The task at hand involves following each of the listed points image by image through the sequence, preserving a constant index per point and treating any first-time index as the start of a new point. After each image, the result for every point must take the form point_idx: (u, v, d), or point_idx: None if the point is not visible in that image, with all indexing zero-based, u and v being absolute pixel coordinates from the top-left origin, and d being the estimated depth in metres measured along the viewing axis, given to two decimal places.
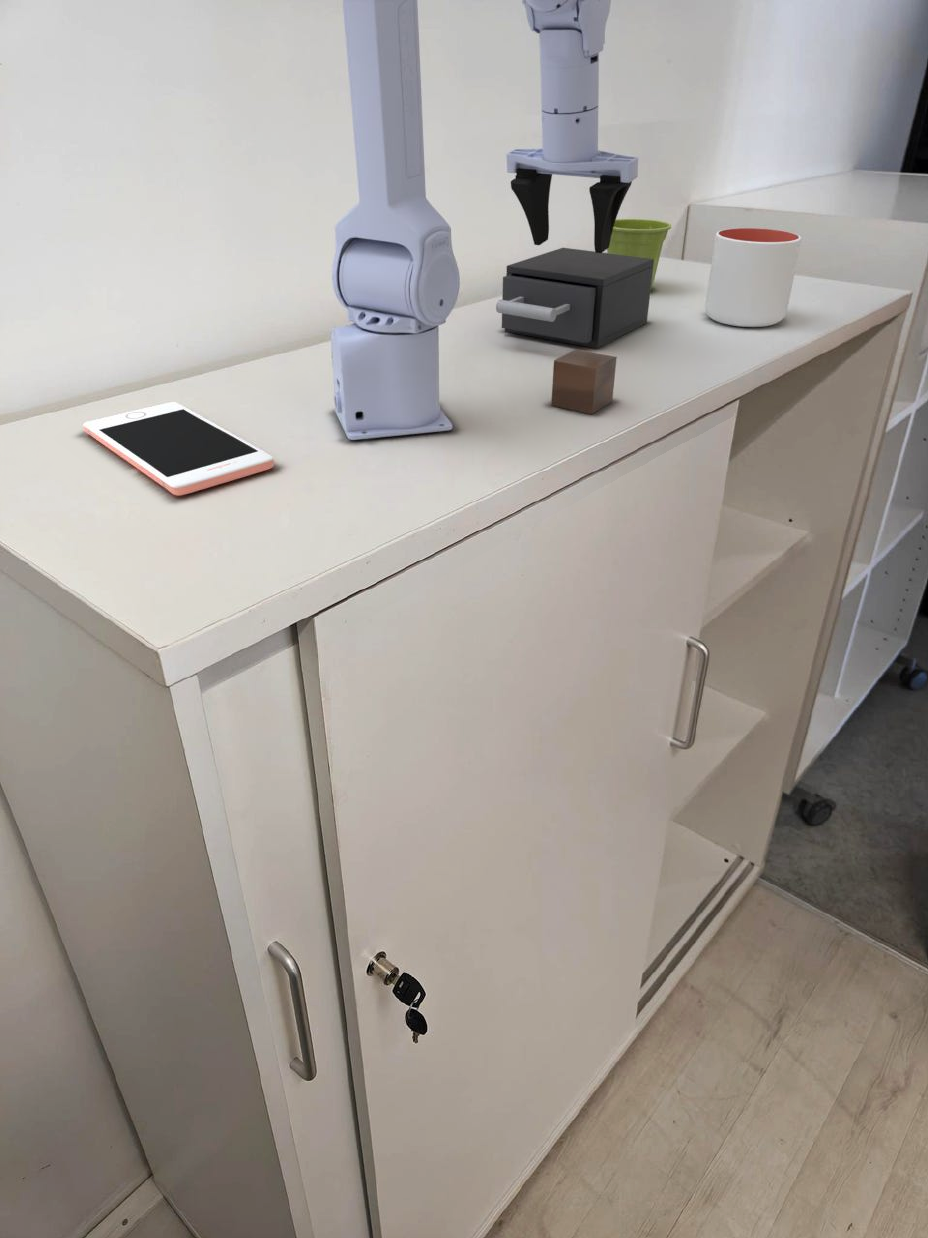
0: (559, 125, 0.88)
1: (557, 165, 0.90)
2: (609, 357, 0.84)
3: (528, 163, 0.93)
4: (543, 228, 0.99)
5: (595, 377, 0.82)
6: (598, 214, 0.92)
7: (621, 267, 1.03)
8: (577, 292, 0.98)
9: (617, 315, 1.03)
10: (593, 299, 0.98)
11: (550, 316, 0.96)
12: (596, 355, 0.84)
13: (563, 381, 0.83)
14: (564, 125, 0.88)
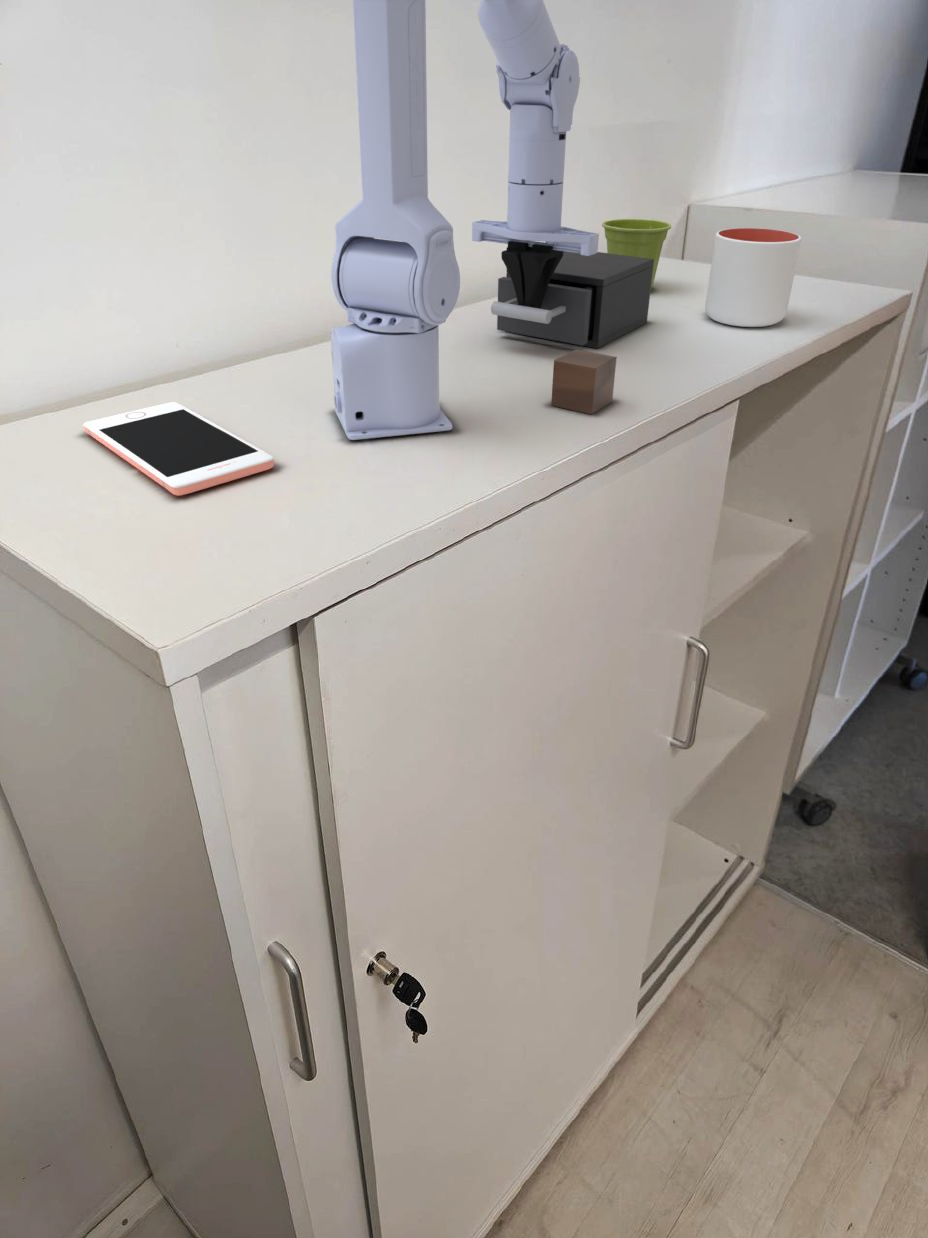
0: (524, 195, 0.90)
1: (520, 234, 0.92)
2: (609, 357, 0.84)
3: (492, 232, 0.95)
4: None
5: (595, 377, 0.82)
6: (529, 280, 0.95)
7: (621, 267, 1.03)
8: (573, 294, 0.97)
9: (617, 315, 1.03)
10: (589, 301, 0.97)
11: (546, 318, 0.95)
12: (596, 355, 0.84)
13: (563, 381, 0.83)
14: (529, 195, 0.90)
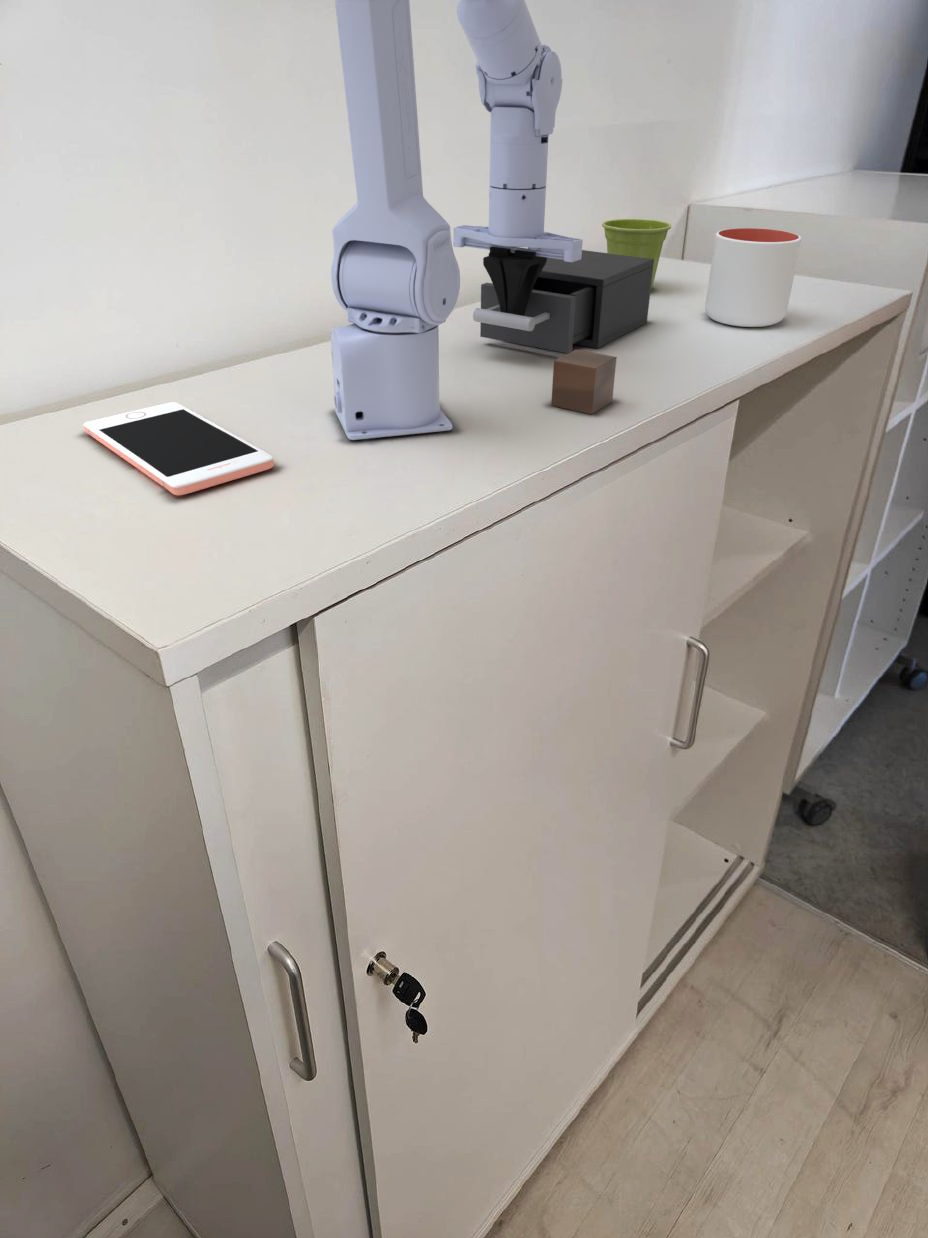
0: (505, 200, 0.88)
1: (501, 239, 0.89)
2: (609, 357, 0.84)
3: (474, 238, 0.92)
4: None
5: (595, 377, 0.82)
6: (511, 287, 0.93)
7: (621, 267, 1.03)
8: (557, 301, 0.95)
9: (617, 315, 1.03)
10: (573, 308, 0.95)
11: (528, 325, 0.93)
12: (596, 355, 0.84)
13: (563, 381, 0.83)
14: (510, 200, 0.87)
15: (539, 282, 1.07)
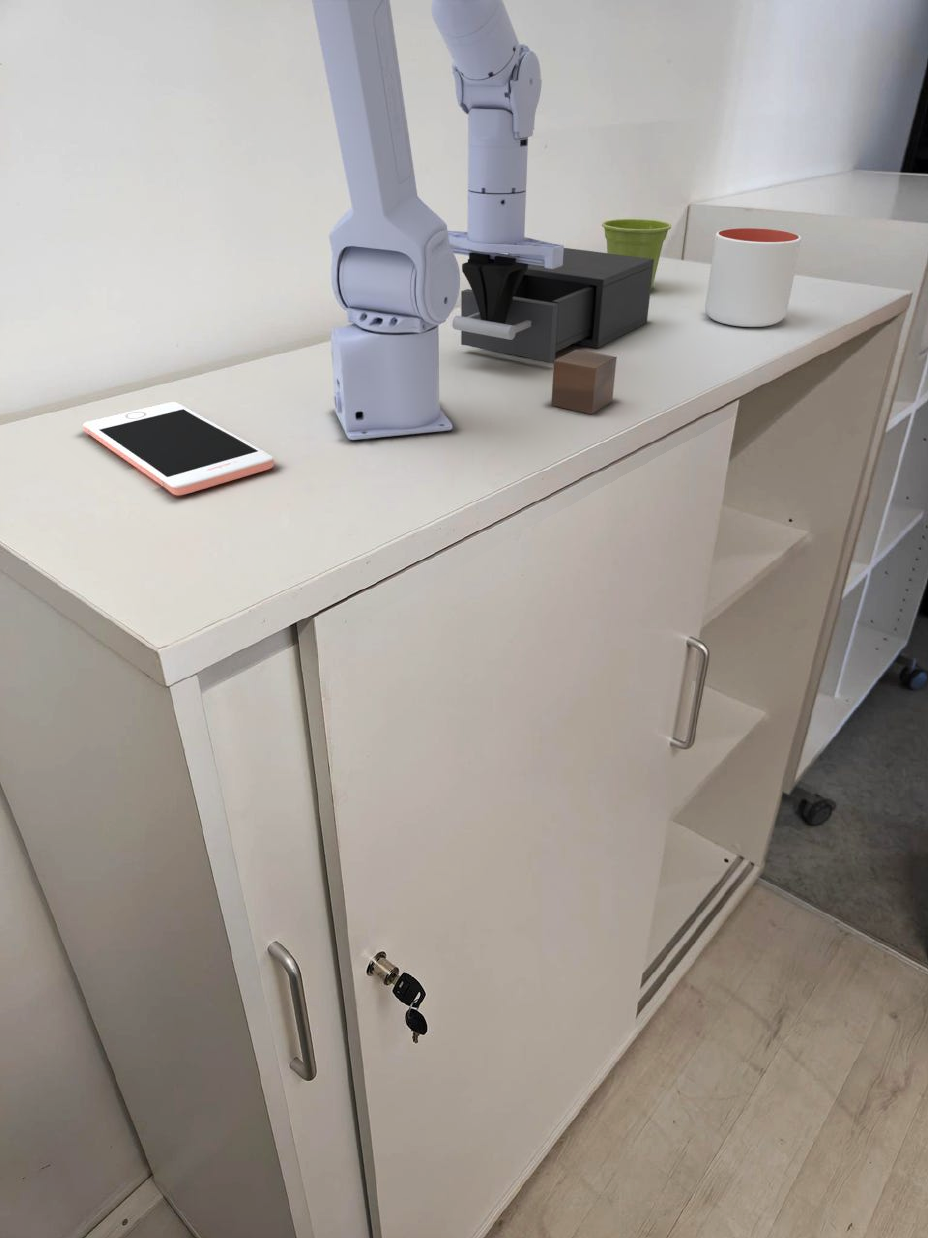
0: (484, 205, 0.85)
1: (480, 245, 0.87)
2: (609, 357, 0.84)
3: (452, 243, 0.90)
4: None
5: (595, 377, 0.82)
6: (491, 294, 0.90)
7: (621, 267, 1.03)
8: (538, 308, 0.92)
9: (617, 315, 1.03)
10: (555, 315, 0.92)
11: (509, 334, 0.90)
12: (596, 355, 0.84)
13: (563, 381, 0.83)
14: (489, 205, 0.85)
15: (522, 288, 1.04)
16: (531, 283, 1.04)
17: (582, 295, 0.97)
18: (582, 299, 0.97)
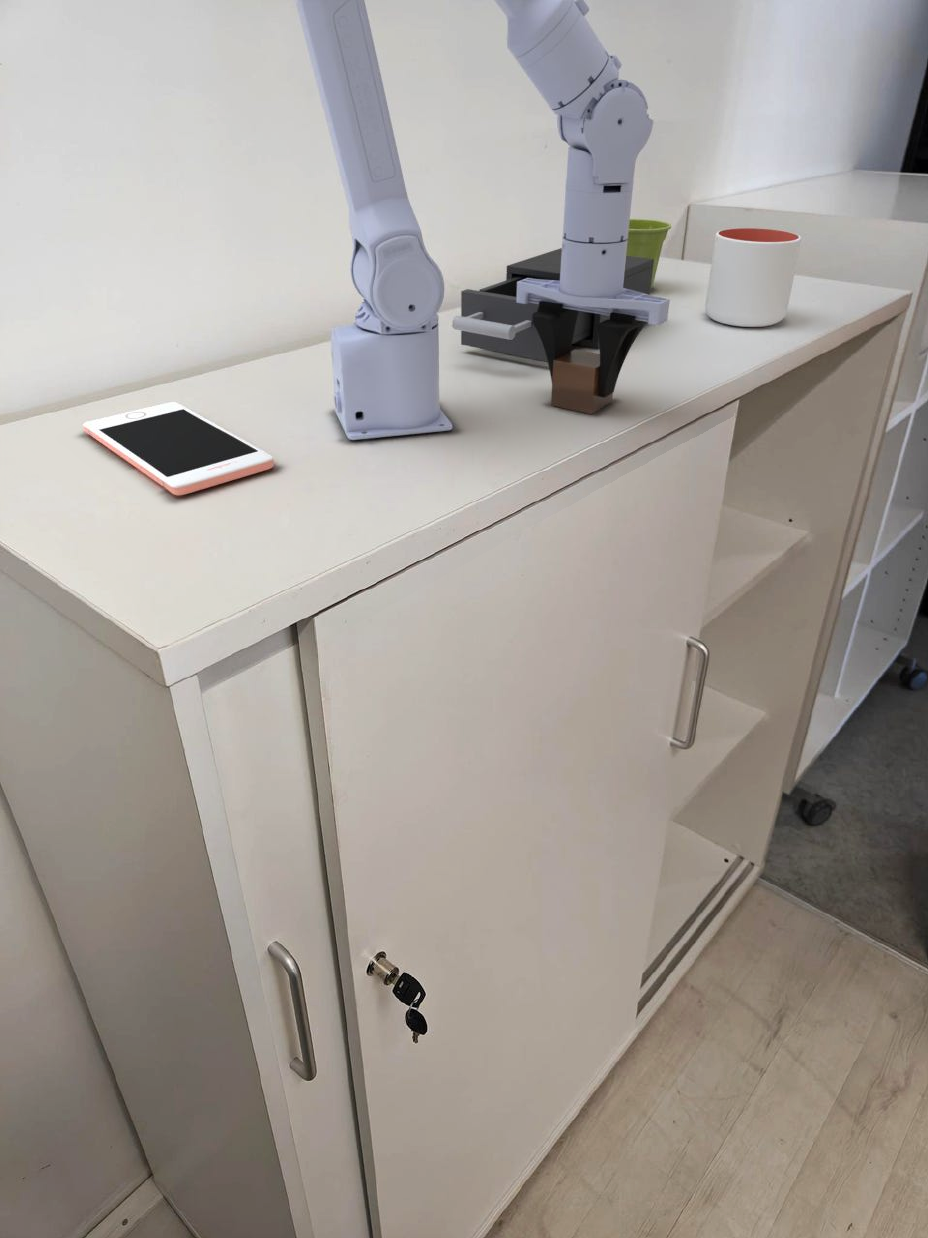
0: (582, 255, 0.76)
1: (576, 299, 0.78)
2: None
3: (542, 295, 0.81)
4: None
5: (595, 377, 0.82)
6: (605, 354, 0.80)
7: None
8: None
9: None
10: None
11: (509, 334, 0.90)
12: (596, 355, 0.84)
13: (562, 381, 0.84)
14: (589, 255, 0.76)
15: None
16: None
17: None
18: None
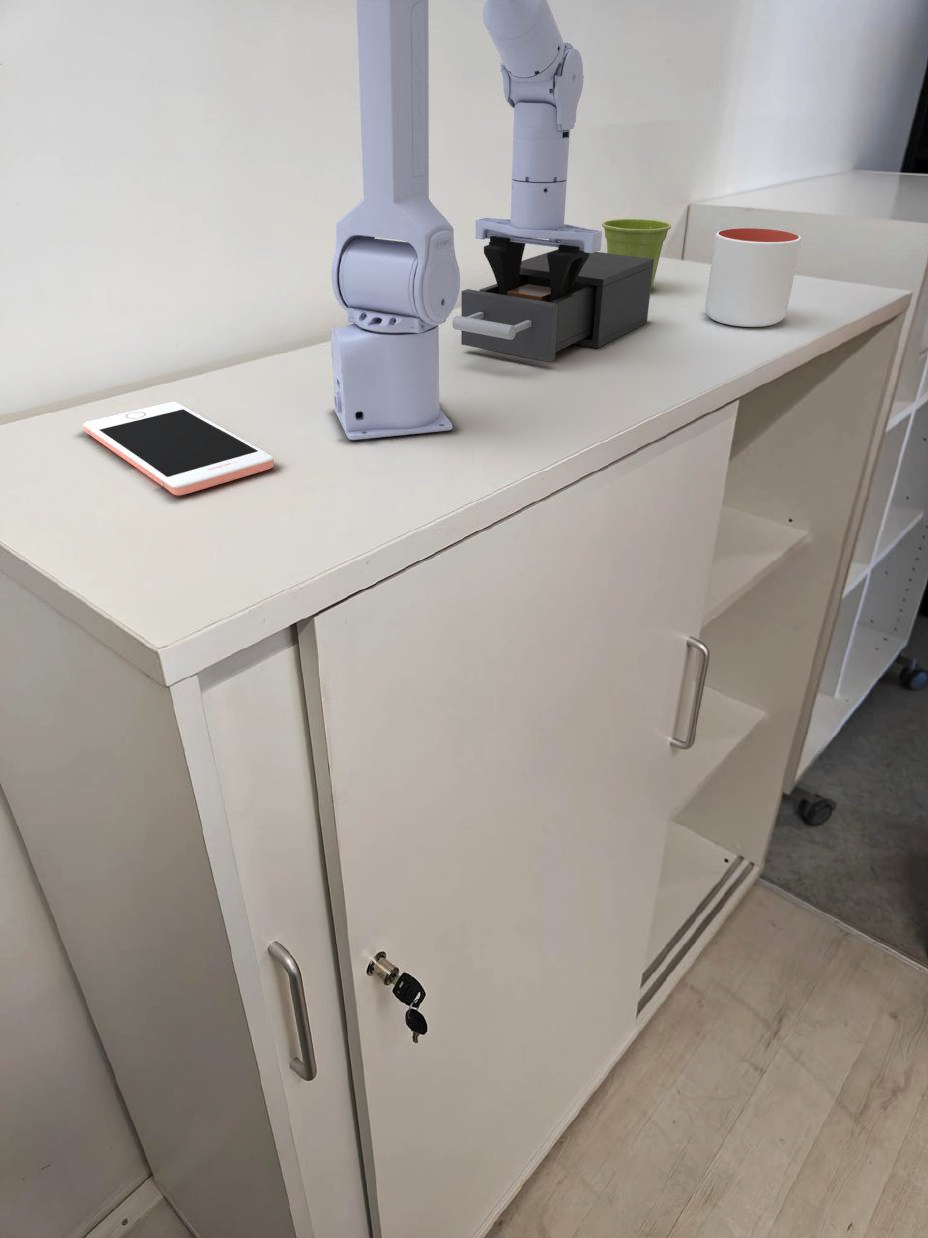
0: (527, 193, 0.90)
1: (523, 231, 0.92)
2: None
3: (496, 230, 0.95)
4: None
5: None
6: (554, 281, 0.94)
7: (621, 267, 1.03)
8: (539, 308, 0.92)
9: (617, 315, 1.03)
10: (555, 315, 0.92)
11: (509, 334, 0.90)
12: (544, 287, 0.99)
13: None
14: (533, 193, 0.90)
15: None
16: (531, 283, 1.04)
17: (582, 295, 0.97)
18: (582, 299, 0.97)
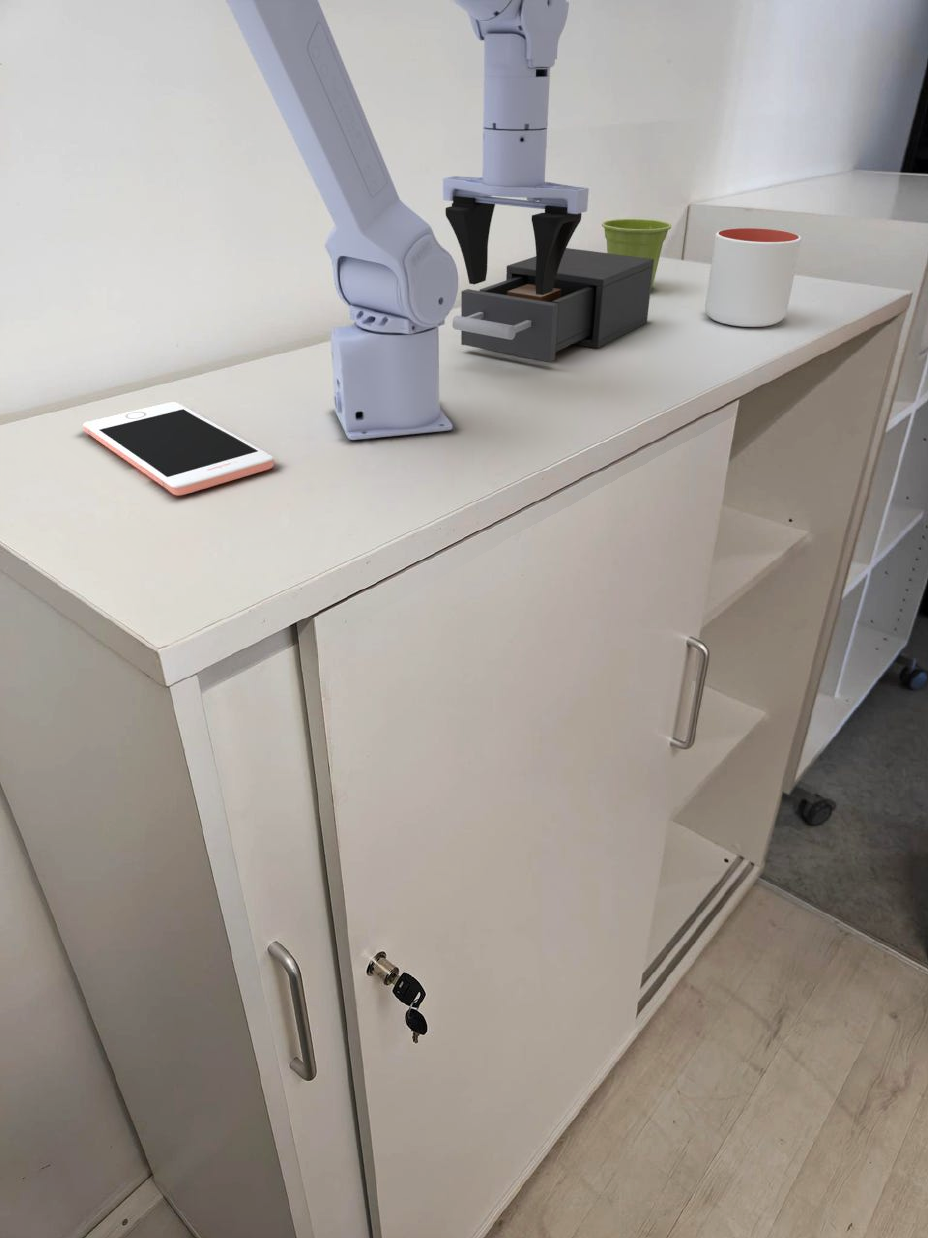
0: (501, 143, 0.77)
1: (497, 189, 0.79)
2: (555, 289, 0.98)
3: (466, 188, 0.82)
4: (480, 266, 0.87)
5: None
6: (541, 248, 0.81)
7: (621, 267, 1.03)
8: (539, 308, 0.92)
9: (617, 315, 1.03)
10: (555, 315, 0.92)
11: (509, 334, 0.90)
12: None
13: None
14: (507, 142, 0.77)
15: None
16: (531, 283, 1.04)
17: (582, 295, 0.97)
18: (582, 299, 0.97)
